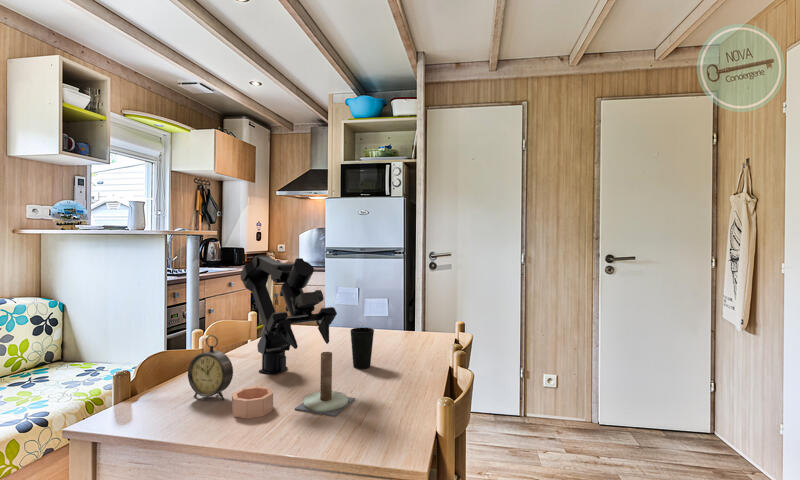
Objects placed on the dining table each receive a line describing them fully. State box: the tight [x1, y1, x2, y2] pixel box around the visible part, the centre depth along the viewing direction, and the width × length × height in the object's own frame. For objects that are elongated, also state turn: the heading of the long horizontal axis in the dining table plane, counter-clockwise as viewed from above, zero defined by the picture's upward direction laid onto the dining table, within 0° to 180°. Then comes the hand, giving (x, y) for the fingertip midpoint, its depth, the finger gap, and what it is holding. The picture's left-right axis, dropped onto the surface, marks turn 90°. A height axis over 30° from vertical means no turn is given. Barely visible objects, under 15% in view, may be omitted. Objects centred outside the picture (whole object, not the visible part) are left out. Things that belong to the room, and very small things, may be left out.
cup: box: [350, 326, 375, 370], centre depth 136 cm, size 8×8×12 cm
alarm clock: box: [187, 334, 234, 401], centre depth 108 cm, size 11×5×16 cm, turn 75°
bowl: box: [231, 385, 274, 419], centre depth 101 cm, size 9×9×4 cm
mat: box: [294, 396, 356, 417], centre depth 104 cm, size 11×11×1 cm
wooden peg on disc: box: [302, 351, 349, 412], centre depth 104 cm, size 11×11×12 cm
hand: (312, 345), depth 110 cm, fingers open, 9 cm apart
